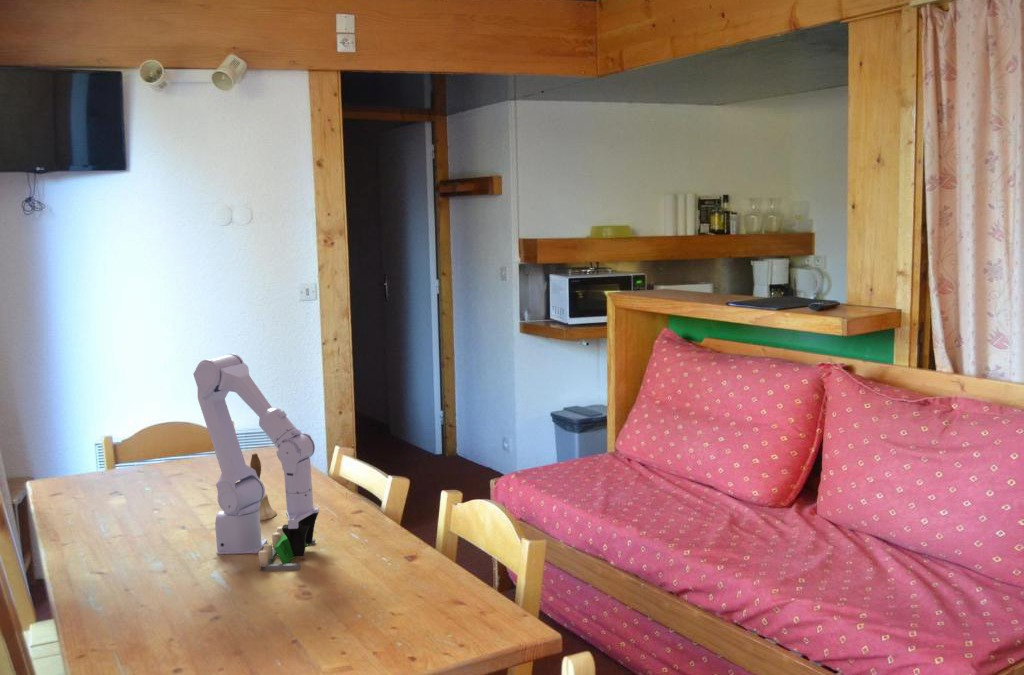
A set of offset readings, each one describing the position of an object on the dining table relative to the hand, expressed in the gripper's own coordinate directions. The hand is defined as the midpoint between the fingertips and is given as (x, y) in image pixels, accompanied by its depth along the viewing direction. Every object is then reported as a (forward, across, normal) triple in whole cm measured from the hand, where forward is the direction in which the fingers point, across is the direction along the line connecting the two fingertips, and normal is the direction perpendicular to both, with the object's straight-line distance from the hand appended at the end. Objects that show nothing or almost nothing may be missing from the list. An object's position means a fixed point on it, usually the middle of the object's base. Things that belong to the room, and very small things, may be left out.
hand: (303, 549), depth 213 cm
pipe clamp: (+1, 0, +1) cm, 2 cm away
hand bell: (+2, +29, +18) cm, 34 cm away
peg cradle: (+1, 0, +3) cm, 3 cm away
